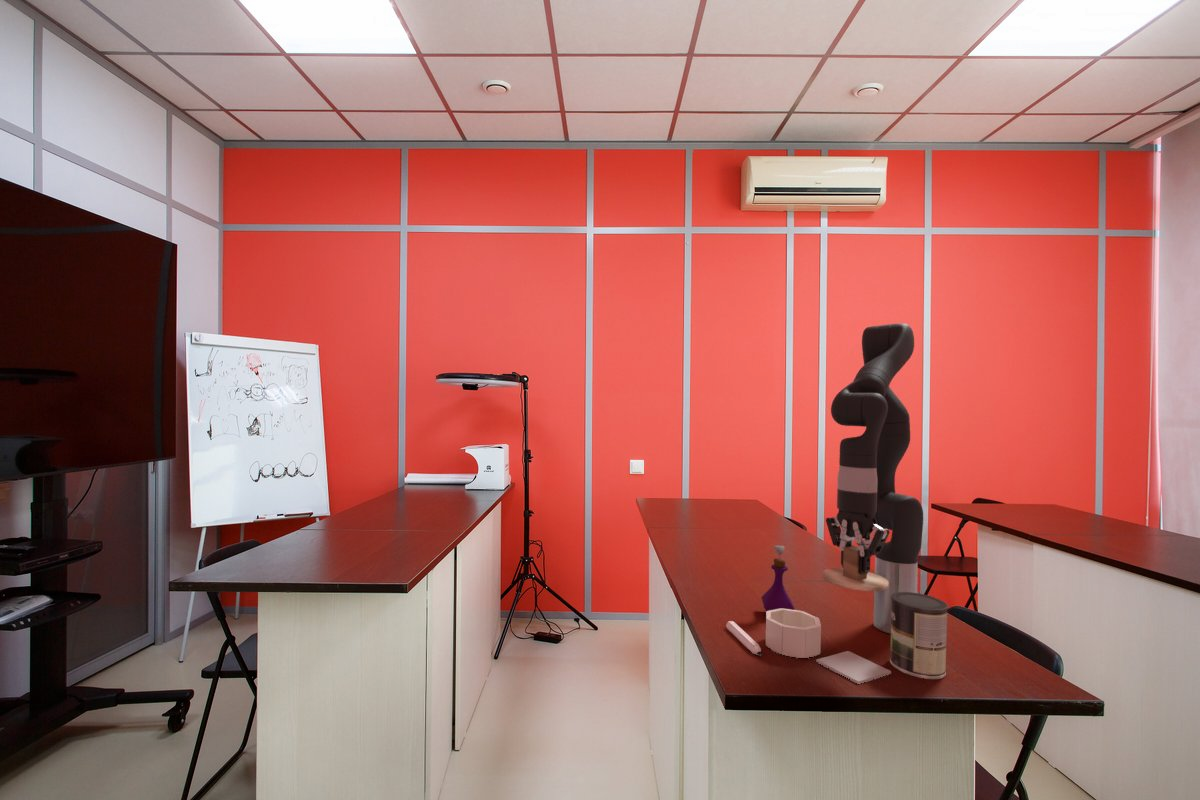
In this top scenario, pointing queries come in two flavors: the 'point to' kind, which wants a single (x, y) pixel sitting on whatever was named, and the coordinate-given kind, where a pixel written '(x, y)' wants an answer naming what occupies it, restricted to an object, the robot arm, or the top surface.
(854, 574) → the lid
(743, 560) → the top surface
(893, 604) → the coffee can
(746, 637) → the marker
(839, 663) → the mat
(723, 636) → the top surface
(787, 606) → the perfume bottle
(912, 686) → the top surface
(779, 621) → the pot
